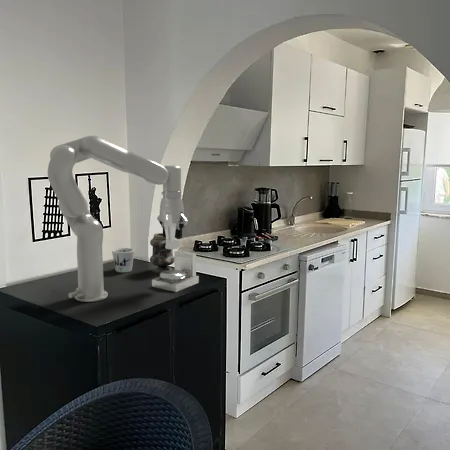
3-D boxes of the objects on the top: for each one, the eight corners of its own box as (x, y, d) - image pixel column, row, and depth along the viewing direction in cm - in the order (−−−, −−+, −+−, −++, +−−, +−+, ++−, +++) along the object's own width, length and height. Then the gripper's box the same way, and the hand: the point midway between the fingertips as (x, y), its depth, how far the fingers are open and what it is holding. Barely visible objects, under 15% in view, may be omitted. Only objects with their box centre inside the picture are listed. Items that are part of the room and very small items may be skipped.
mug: (109, 273, 216) (109, 252, 215) (118, 265, 231) (117, 245, 229) (132, 273, 216) (131, 252, 214) (139, 265, 231) (138, 246, 229)
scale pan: (174, 281, 190) (174, 278, 190) (154, 276, 196) (154, 274, 195) (192, 274, 200) (192, 271, 200) (172, 270, 206) (172, 267, 206)
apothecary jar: (180, 269, 224) (179, 233, 221) (165, 275, 213) (165, 237, 210) (159, 266, 229) (159, 231, 226) (144, 272, 219) (144, 235, 216)
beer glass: (169, 250, 190) (169, 214, 188) (161, 247, 196) (160, 212, 193) (183, 248, 195) (183, 213, 192) (174, 245, 200) (174, 211, 198)
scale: (176, 291, 190) (176, 261, 187) (152, 286, 196) (151, 256, 194) (198, 282, 203) (198, 253, 201) (175, 277, 210) (175, 250, 208)
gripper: (150, 194, 193) (150, 236, 196) (183, 197, 184) (183, 241, 187) (161, 193, 199) (162, 234, 202) (194, 196, 190) (194, 238, 193)
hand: (172, 237), depth 194 cm, fingers closed on beer glass, 6 cm apart
